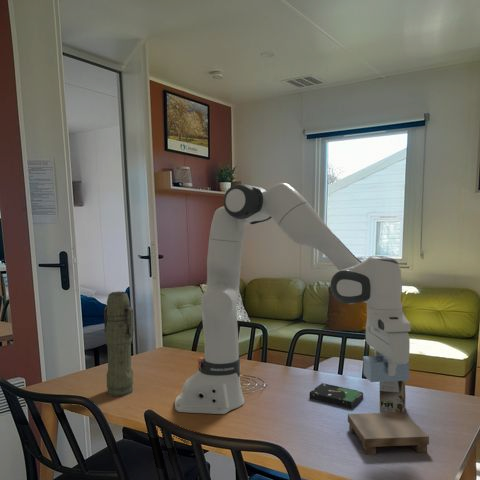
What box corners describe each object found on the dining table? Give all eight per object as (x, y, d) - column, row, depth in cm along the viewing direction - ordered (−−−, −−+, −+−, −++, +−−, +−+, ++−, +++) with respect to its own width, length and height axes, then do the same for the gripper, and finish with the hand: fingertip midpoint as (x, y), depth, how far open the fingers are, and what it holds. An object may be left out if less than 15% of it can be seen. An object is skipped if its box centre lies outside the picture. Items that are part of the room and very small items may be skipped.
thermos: (113, 385, 152) (111, 290, 151) (141, 388, 148) (139, 291, 147) (97, 394, 143) (95, 293, 143) (127, 398, 139) (124, 294, 139)
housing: (370, 382, 106) (370, 362, 106) (363, 374, 111) (363, 356, 111) (409, 380, 106) (409, 361, 106) (400, 373, 112) (399, 354, 112)
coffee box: (402, 419, 121) (401, 363, 120) (379, 414, 124) (378, 360, 124) (406, 407, 129) (405, 355, 128) (384, 403, 132) (384, 352, 132)
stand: (365, 455, 102) (365, 438, 102) (347, 428, 116) (347, 414, 116) (429, 452, 102) (428, 436, 102) (404, 426, 116) (404, 412, 116)
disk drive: (309, 400, 136) (353, 410, 128) (308, 392, 136) (352, 401, 128) (321, 390, 145) (363, 399, 137) (321, 382, 145) (363, 390, 136)
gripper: (359, 310, 119) (360, 358, 119) (388, 327, 98) (389, 384, 98) (381, 310, 119) (382, 358, 119) (414, 326, 99) (415, 383, 99)
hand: (385, 370), depth 109 cm, fingers closed on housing, 5 cm apart
